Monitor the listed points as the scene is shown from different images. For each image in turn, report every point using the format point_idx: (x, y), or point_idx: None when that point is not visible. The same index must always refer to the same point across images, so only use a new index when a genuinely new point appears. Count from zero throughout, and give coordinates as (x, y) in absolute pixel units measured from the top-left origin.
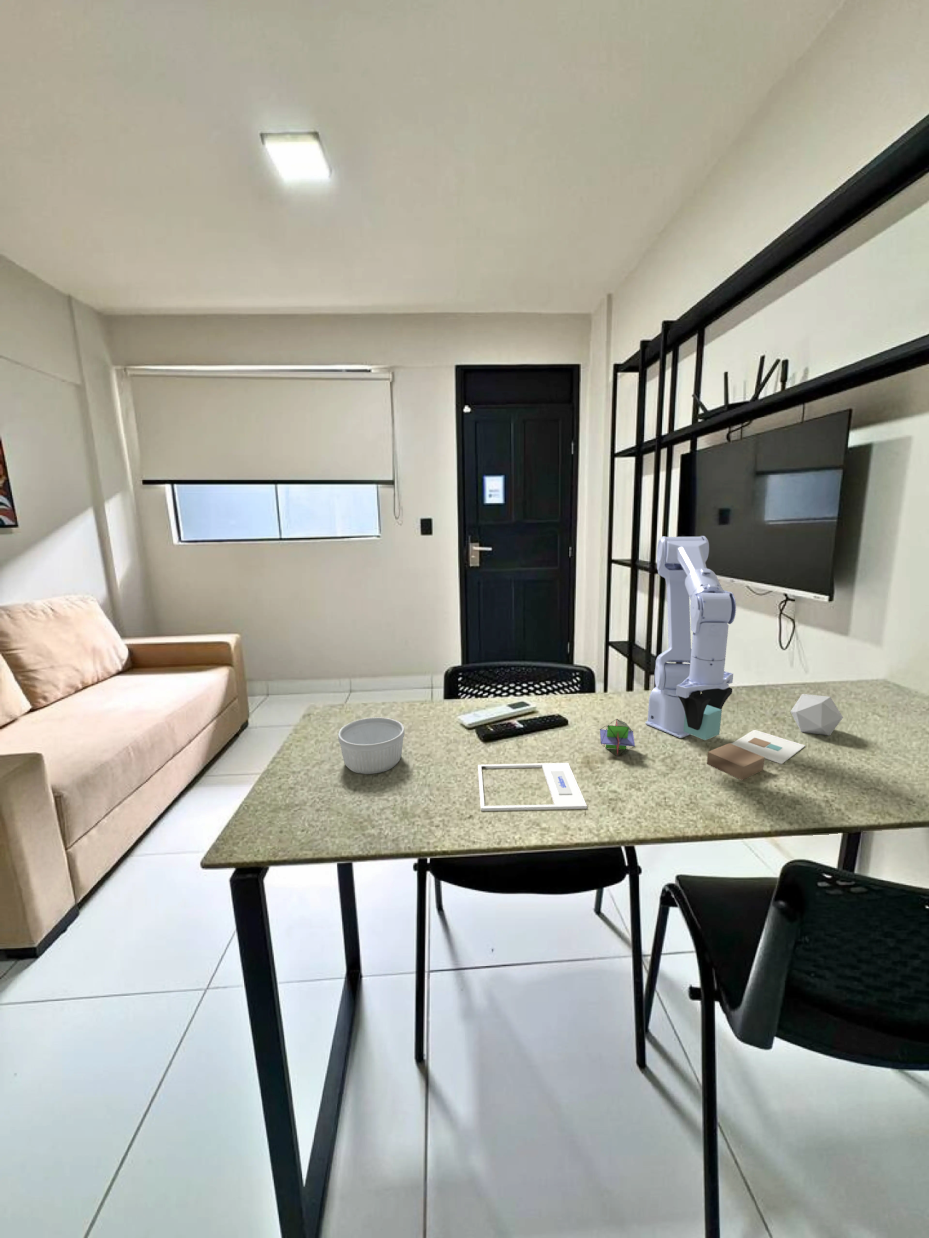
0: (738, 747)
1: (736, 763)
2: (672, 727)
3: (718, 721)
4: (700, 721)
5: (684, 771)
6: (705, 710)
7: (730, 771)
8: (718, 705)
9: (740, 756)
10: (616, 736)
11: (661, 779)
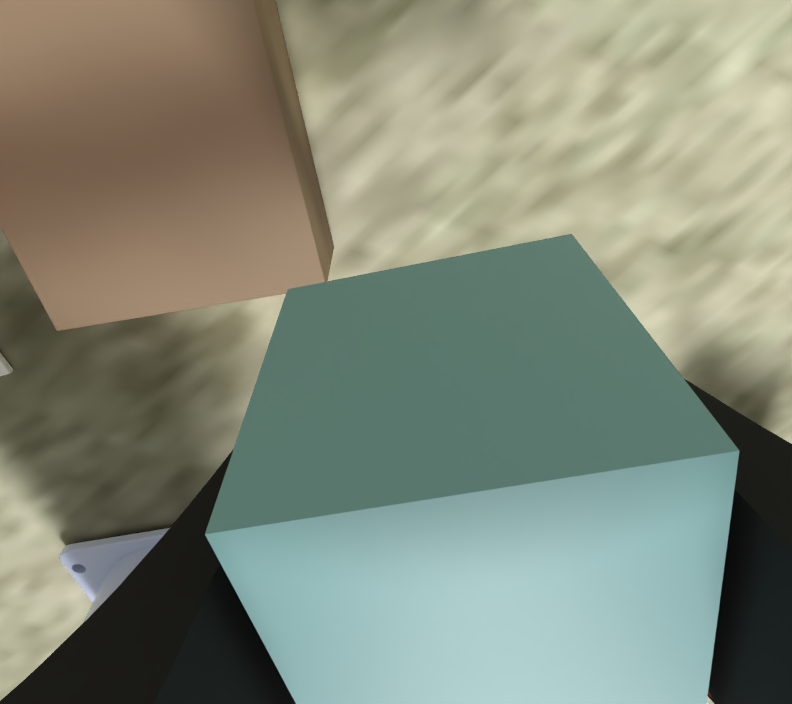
0: (27, 253)
1: (248, 34)
2: None
3: (312, 380)
4: (714, 417)
5: (551, 227)
6: (542, 595)
7: (285, 67)
8: (201, 649)
9: (118, 124)
10: None
11: (774, 204)
